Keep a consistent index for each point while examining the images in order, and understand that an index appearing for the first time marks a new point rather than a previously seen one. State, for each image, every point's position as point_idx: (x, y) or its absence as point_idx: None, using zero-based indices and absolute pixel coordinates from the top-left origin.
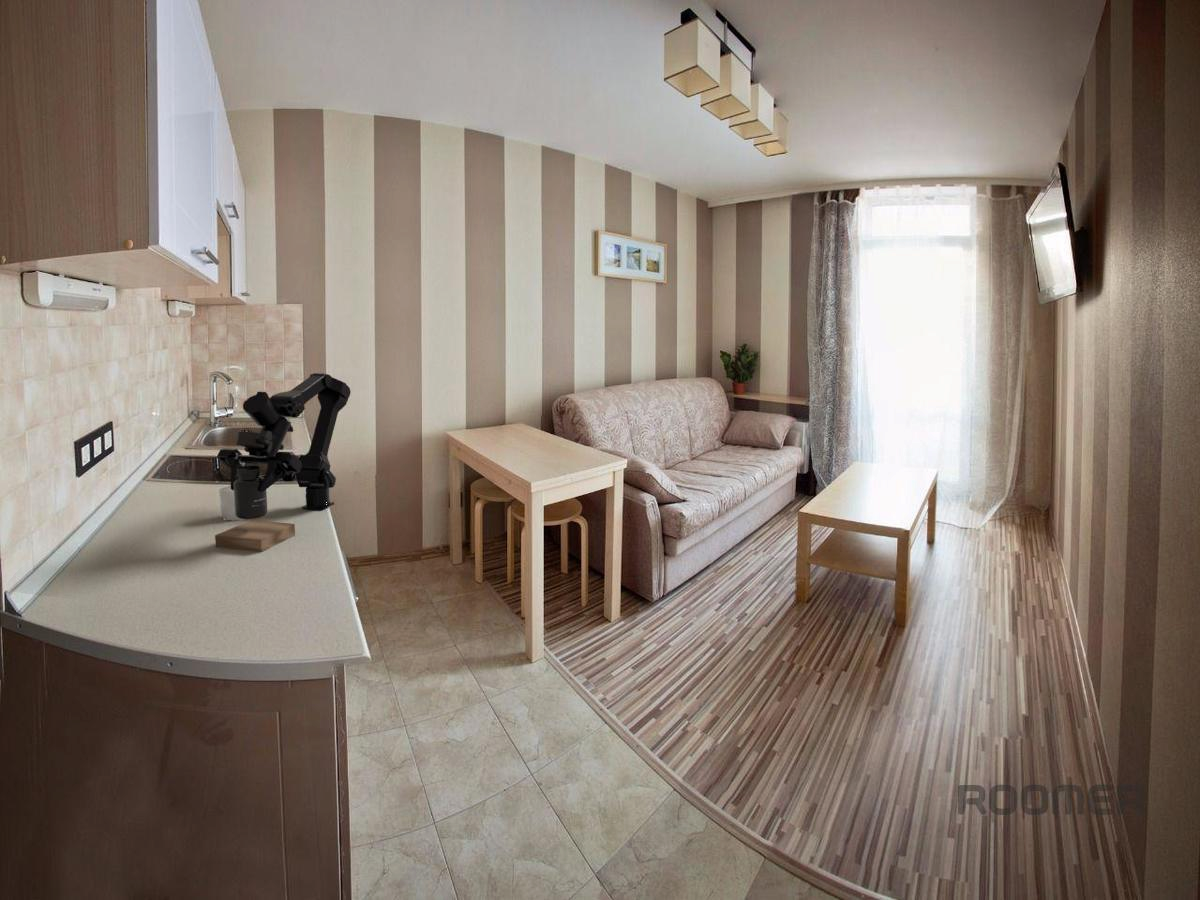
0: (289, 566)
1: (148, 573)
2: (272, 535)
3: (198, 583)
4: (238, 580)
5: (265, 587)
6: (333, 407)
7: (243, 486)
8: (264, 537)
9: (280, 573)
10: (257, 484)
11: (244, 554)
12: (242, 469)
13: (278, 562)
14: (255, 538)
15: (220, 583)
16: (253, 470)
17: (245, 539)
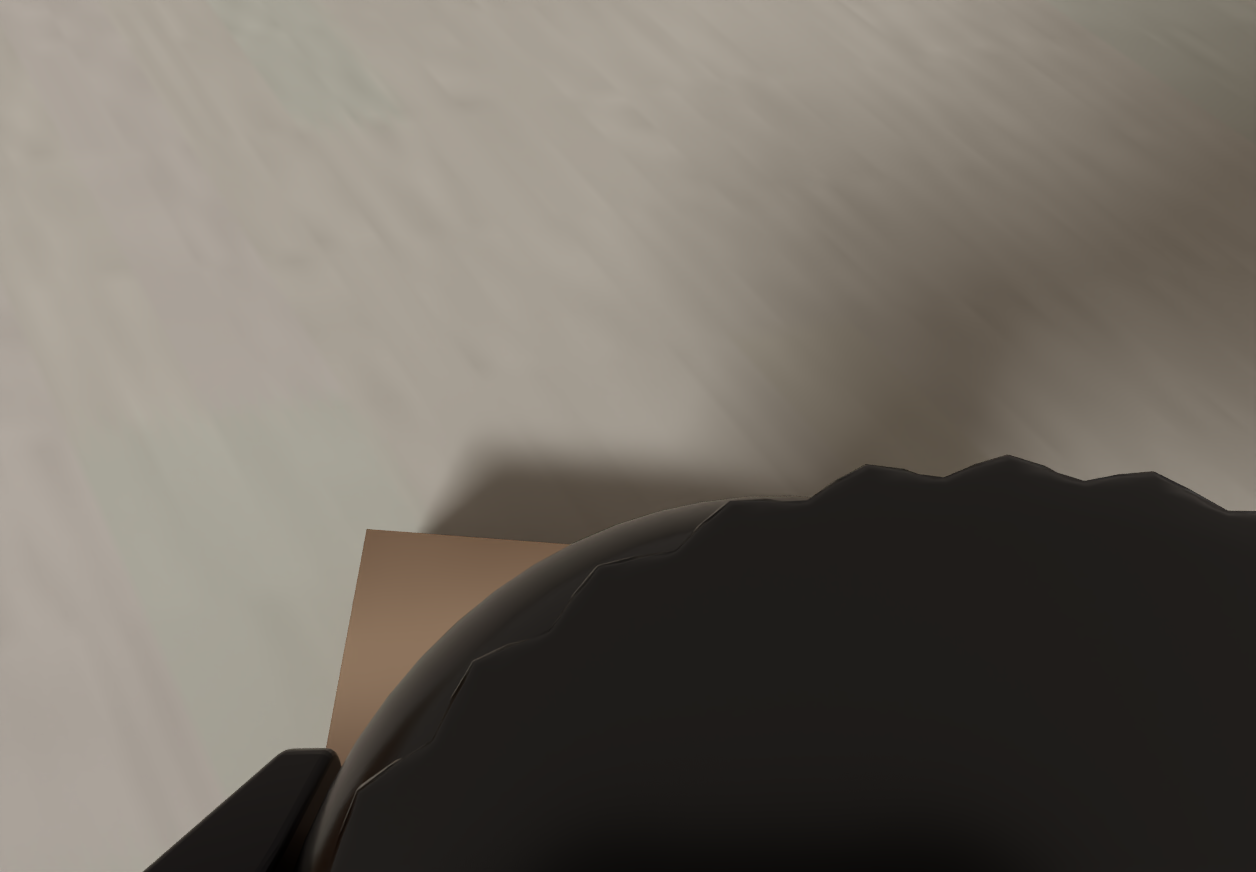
0: (4, 315)
1: (924, 88)
2: (334, 726)
3: (496, 11)
4: (270, 71)
5: (41, 11)
6: None
7: (676, 509)
8: (365, 605)
9: (26, 196)
10: (345, 771)
11: (518, 486)
12: (1072, 558)
13: (130, 373)
14: (447, 560)
15: (360, 25)
16: (355, 854)
17: (557, 548)
